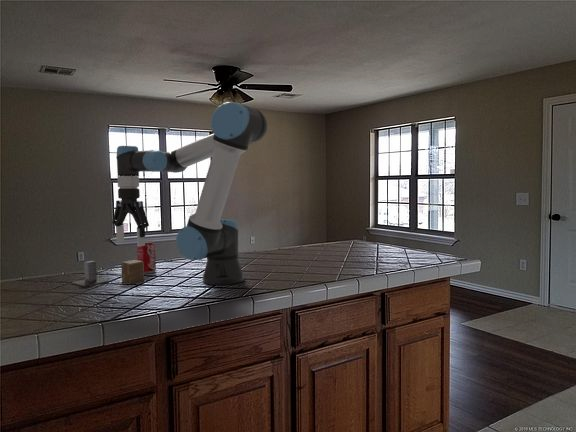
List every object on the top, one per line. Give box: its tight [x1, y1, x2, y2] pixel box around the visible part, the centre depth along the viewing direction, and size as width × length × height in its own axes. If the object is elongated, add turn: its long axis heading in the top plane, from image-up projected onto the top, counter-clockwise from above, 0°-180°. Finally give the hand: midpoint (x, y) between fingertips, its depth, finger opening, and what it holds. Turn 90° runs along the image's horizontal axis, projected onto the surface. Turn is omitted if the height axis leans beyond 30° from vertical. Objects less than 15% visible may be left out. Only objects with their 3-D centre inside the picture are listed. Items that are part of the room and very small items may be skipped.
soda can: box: [136, 240, 157, 275], centre depth 178 cm, size 7×7×13 cm
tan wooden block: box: [120, 259, 145, 285], centre depth 162 cm, size 6×6×8 cm
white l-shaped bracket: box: [70, 260, 112, 288], centre depth 161 cm, size 10×10×8 cm
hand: (130, 244), depth 162 cm, fingers open, 13 cm apart
